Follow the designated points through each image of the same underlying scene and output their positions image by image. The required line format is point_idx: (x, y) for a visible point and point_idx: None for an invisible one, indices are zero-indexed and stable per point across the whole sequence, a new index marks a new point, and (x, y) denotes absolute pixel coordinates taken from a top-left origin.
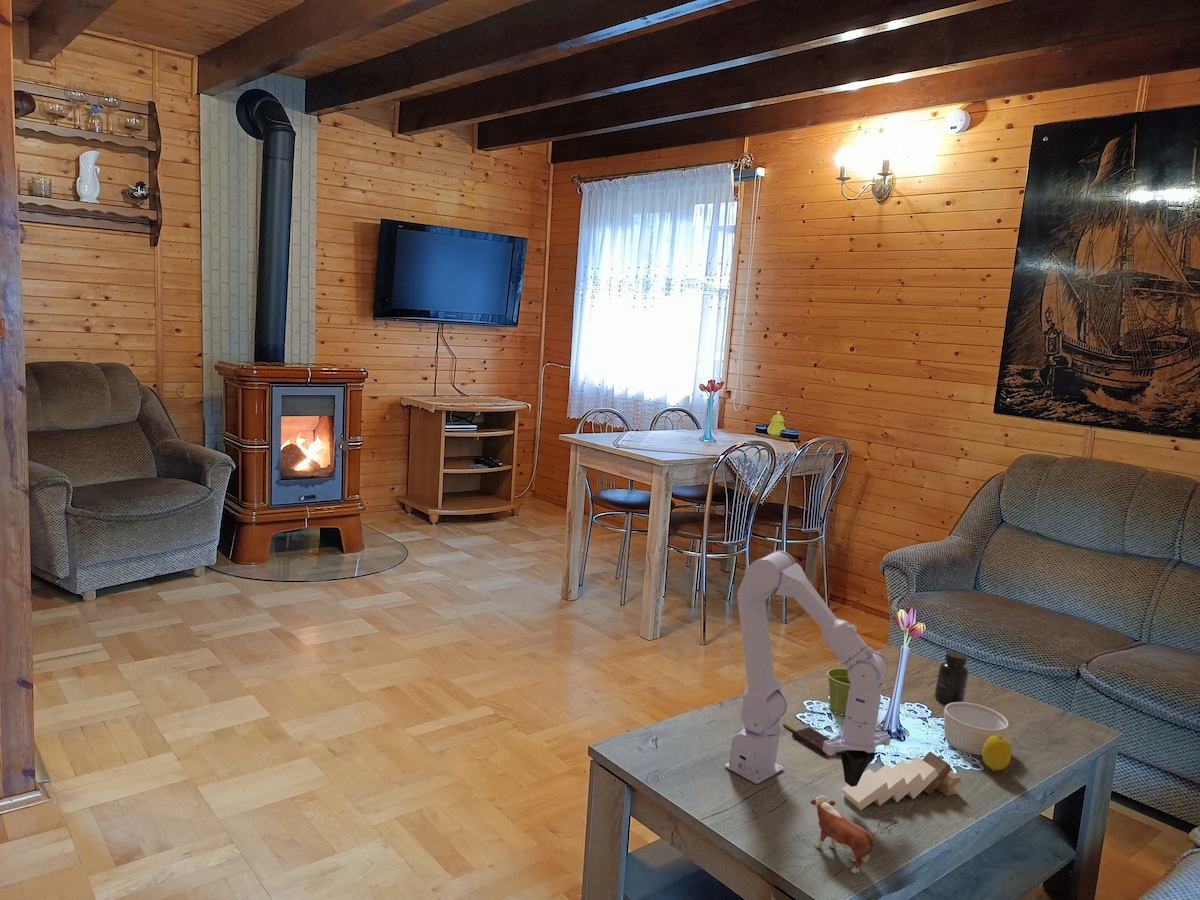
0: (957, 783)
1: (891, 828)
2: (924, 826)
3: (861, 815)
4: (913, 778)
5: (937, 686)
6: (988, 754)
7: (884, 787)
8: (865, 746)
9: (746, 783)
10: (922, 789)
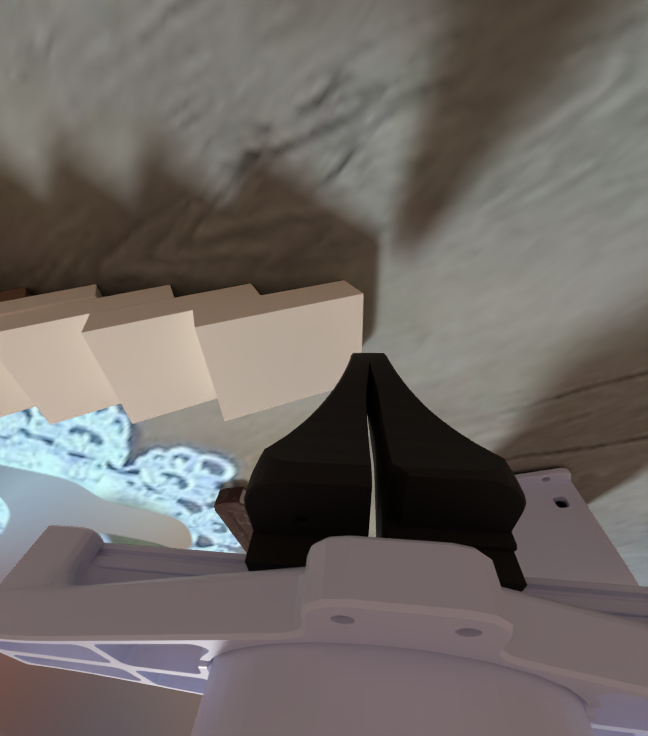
0: None
1: (298, 113)
2: (116, 79)
3: (367, 250)
4: (37, 324)
5: None
6: None
7: (214, 314)
8: (451, 655)
9: (582, 475)
10: (33, 297)
